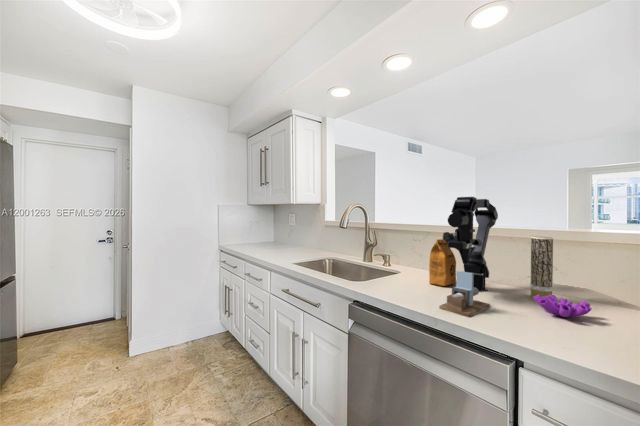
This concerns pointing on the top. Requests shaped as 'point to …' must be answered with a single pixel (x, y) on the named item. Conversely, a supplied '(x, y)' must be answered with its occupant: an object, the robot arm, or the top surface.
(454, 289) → the dark grey block
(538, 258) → the paper tube
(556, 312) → the purple coral
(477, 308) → the pipe stand
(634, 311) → the top surface
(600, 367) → the top surface
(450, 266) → the coffee package
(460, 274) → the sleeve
